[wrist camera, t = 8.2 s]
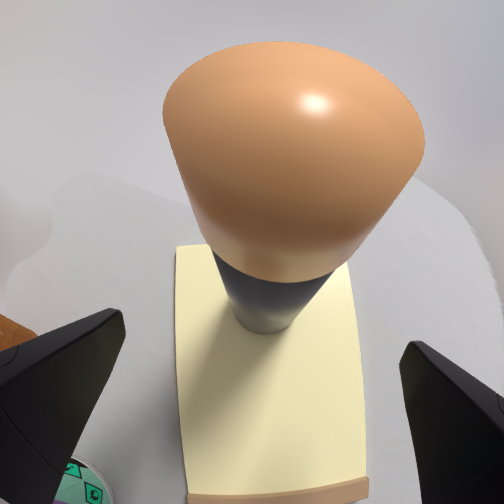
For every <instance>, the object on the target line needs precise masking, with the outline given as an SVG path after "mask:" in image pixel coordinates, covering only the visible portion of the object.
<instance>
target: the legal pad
mask: <svg viewBox="0 0 504 504" xmlns="http://www.w3.org/2000/svg"><path fill="white" fill-rule="evenodd" d="M175 335H176V368H177V387H178V403H179V416H180V427H181V437H182V447H183V456H184V464H185V471H186V479H187V485H188V492H189V494H188V496H187V502H188V504H347V503H351V502H354V501H358V500H362V499H365V498H368V493H369V478H368V477H366V427H365V405H364V389H363V377H362V366H361V356H360V346H359V338H358V330H357V322H356V315H355V308H354V302H353V295H352V289H351V283H350V278H349V272H348V267H347V261H346V262H345V263H344V264H343V265H341V266H340V267H338V268H337V269H336V270H335V271H334V272H333V274H332V275H331V276H330V277H329V279H328V280H327V281H326V282H325V284H324V285H323V286H322V287H321V288H320V290H319V291H318V292H317V293H316V294H315V296H314V297H313V298H312V299H311V300H310V302H309V303H308V304H307V305H306V306H305V308H304V309H303V310H302V311H301V312H300V313H299V315H298V316H297V317H296V318H295V319H294V320H293V321H292V323H291V324H290V325H289V326H288V327H286V328H285V329H284V330H282V331H280V332H278V333H275V334H269V335H262V334H257V333H253V332H251V331H249V330H247V329H246V328H245V327H243V326H242V325H241V324H240V323H239V321H238V320H237V318H236V317H235V314H234V312H233V309H232V306H231V304H230V301H229V298H228V296H227V293H226V290H225V287H224V284H223V282H222V279H221V276H220V273H219V270H218V268H217V265H216V262H215V259H214V256H213V253H212V250H211V248H210V246H209V245H208V244H203V245H189V246H177V250H176V284H175Z"/></svg>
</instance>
